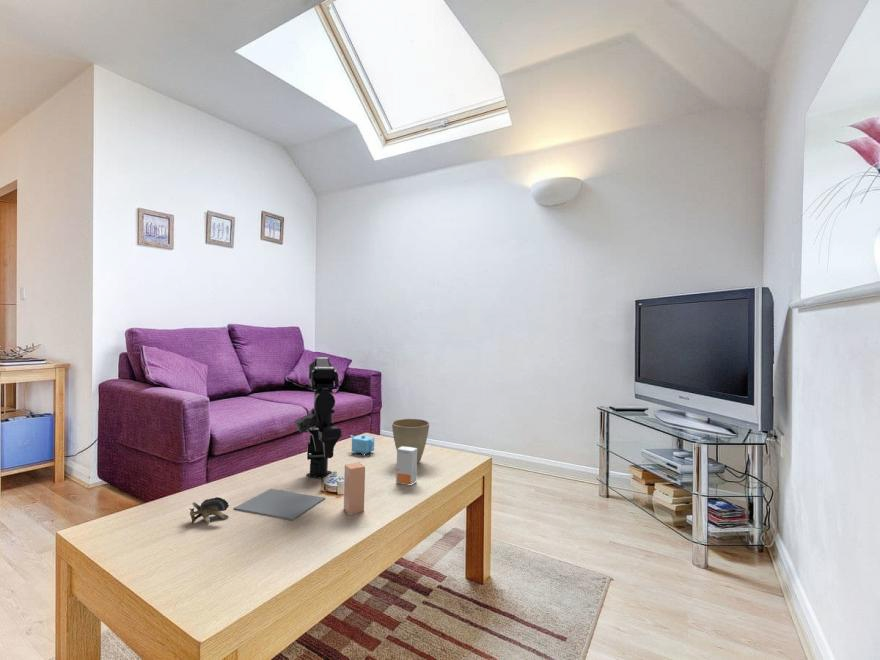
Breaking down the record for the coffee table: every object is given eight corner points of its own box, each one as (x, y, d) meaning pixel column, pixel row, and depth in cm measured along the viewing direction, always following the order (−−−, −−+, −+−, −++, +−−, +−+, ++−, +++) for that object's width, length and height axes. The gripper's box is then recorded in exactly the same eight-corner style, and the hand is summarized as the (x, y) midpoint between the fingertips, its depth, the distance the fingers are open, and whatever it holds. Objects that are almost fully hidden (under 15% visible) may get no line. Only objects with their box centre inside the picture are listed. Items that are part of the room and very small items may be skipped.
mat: (270, 489, 140) (270, 488, 140) (325, 498, 134) (325, 497, 134) (233, 509, 124) (233, 507, 124) (292, 520, 118) (292, 519, 118)
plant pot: (393, 456, 179) (394, 418, 179) (429, 457, 179) (430, 419, 178) (388, 468, 164) (389, 426, 164) (427, 469, 164) (428, 427, 164)
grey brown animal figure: (192, 527, 110) (231, 513, 115) (187, 500, 113) (224, 487, 118) (193, 533, 116) (229, 519, 121) (187, 506, 118) (223, 494, 123)
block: (343, 508, 127) (344, 464, 127) (358, 505, 129) (359, 462, 129) (349, 514, 123) (350, 468, 123) (363, 511, 125) (365, 466, 125)
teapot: (345, 452, 183) (345, 434, 183) (353, 448, 189) (354, 431, 189) (368, 456, 178) (369, 438, 178) (377, 453, 183) (377, 435, 183)
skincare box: (395, 483, 148) (396, 448, 148) (401, 479, 152) (402, 445, 152) (411, 486, 146) (412, 451, 146) (416, 482, 150) (417, 447, 150)
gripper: (290, 403, 142) (288, 451, 142) (306, 412, 126) (304, 466, 126) (323, 401, 148) (322, 447, 148) (342, 410, 132) (341, 461, 132)
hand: (322, 454), depth 138 cm, fingers open, 9 cm apart
